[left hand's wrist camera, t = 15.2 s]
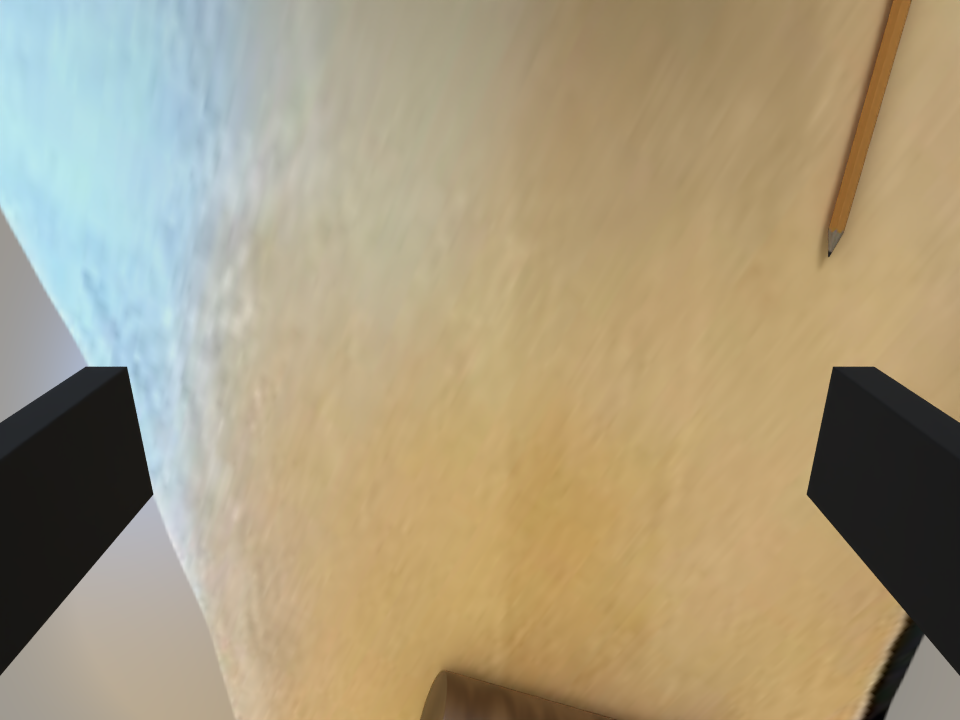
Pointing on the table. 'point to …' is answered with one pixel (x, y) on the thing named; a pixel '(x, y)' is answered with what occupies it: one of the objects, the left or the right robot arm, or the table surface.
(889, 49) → the pencil
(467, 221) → the table surface
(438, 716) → the rod
